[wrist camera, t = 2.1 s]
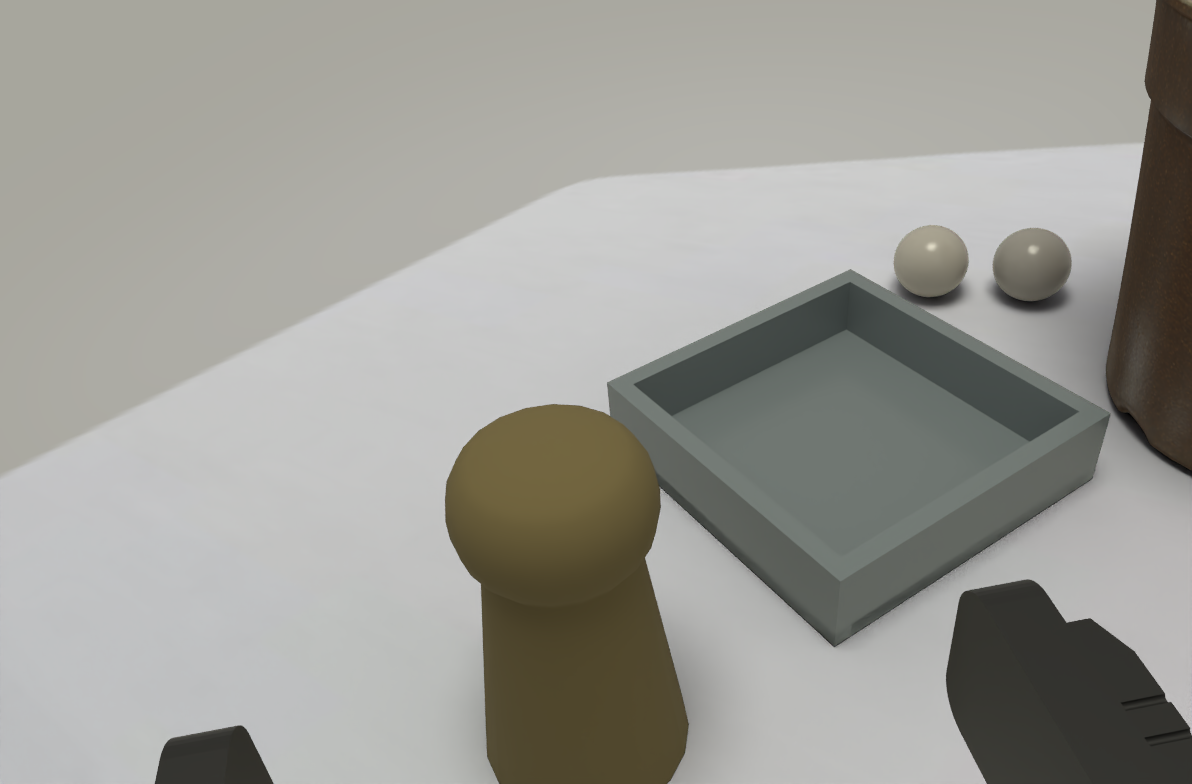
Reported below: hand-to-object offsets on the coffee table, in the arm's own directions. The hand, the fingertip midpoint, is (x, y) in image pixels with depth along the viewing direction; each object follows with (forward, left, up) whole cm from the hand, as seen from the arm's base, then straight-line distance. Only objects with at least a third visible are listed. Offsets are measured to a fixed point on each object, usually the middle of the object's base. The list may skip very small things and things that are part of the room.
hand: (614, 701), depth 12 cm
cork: (-10, +5, -17) cm, 20 cm away
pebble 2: (-17, +33, -17) cm, 41 cm away
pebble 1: (-20, +30, -17) cm, 40 cm away
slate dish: (-14, +19, -17) cm, 29 cm away
